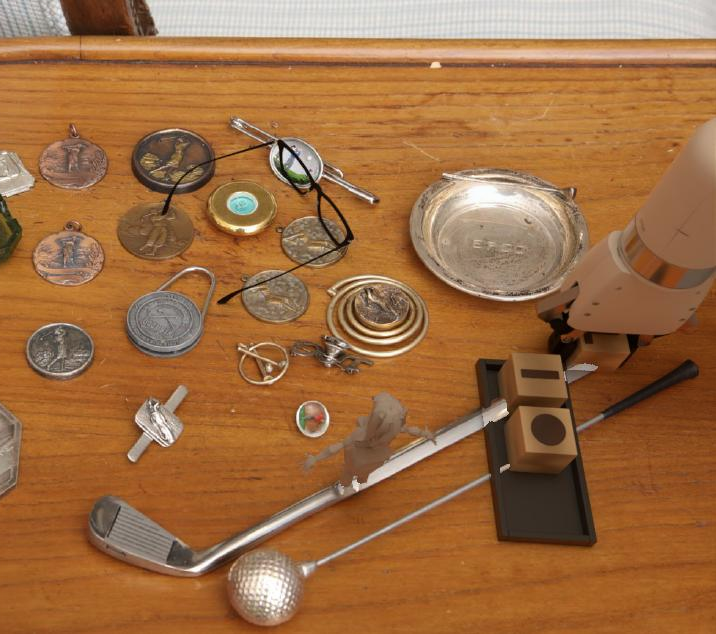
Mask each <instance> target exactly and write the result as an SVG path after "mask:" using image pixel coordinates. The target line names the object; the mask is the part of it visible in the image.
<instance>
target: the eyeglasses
mask: <svg viewBox="0 0 716 634" xmlns="http://www.w3.org/2000/svg"><path fill="white" fill-rule="evenodd" d="M271 145H277V147H278V160H279V167H280V170H281V172H282V174H285V175H284V176H285V177H286V179H287V181H288V182H289V183H290V184H291V186H292V187H293V188H294V189H295V190H296V191H297V192H298V193H299V194H300V195H301V196H304V195H305V196H307V197H308V196H309V194H310V193H311V192H312V191H313V190H315V191H316V199H314V200H313V204H312V205H313V207H314V208H316V210H317V217H318V220H319V222H320V224H321V225H322V227H323V229H324V231H325V232H326V234H327V235H328V237H330V240H332V241H333V243H334V244H335V245H336V247H334V248H332V249H331V250H328V251H326V252H324V253H322V254H319V255H318V256H316V257H314V258H312V259H309V260H307V261H306V262H303V263H301V264H299V265H297V266H295V267H292V268H291V269H288V270H287V271H284V272H282V273H280V274H278V275H276V276H273V277H271V278H270V277H269V278H268V279H266V280H263V281H260V282H256V283H254V284H252V285H249V286H246V287H243V288H239V289H237V290H235V291H233V292H230V293H228V294H227V295H225V296H223V297H222V298H220V299H218V300H217V301H216V304H221V305H223V304H226V303H228V302H229V301H230V300H231V299H234V297H236V296H237V295H239V294H241V293H242V292H245V291H247V290H249V289H252V288H255V287H258V286H260V285H264V284H265V283H267V282H270V281H272V280H276V279H278V278H280V277H282V276H285V275H287V274H288V273H292V272H293V271H294V270H297V269H300V268H302V267H304V266H306V265H308V264H310V263H312V262H314V261H317V260H319V259H321V258H323V257H325V256H327V255H329V254H331V253H333V252H336V251H338V250H341V249H342V248H344V247H347V246H349V245H350V244H352V243H353V242H355V235H354V233H353V231H352V229H351V228H350V226H349V224H348V223H349V222H347V220H346V217H344V215H343V213H342V212H341V210H340V209H339V208H338V206H337V204H335V202H334V201H333V200H332V199H331V198H330V197H329V195H327V194H326V193H325V192H324V191H323V189H322V187H321V185H320V184H319V183H317V182H316V181H315V179H314V178H313V175H312V174H311V172H310V170H309V169H308V167H307V166H306V164H305V163H304V161H303V160H302V159H301V157H300V156H299V155H298V154H297V153H296V151H295V150H293V148H292V147H291V146H290V145H288V144H287V143H286V141H284V140H283V139H282V138H280V139H279V138H278V139H274V140H271V141H268V142H264V143H261V144H258V145H254V146H251V147H248V148H245V149H242V150H241V149H240V150H238V151H235V152H231V153H228V154H225V155H222V156H219V157H216V158H213V159H209V160H207V161H204V162H201V163H200V164H197V165H195V166H194V167H192V168H191V169H189V170H188V171H186V172H185V173H183V175H181V177H179V179H178V180H177V181H176V182H175V184H174V186H173V187H171V188H172V189H171V190H170V192H169V193H168V195H167V198H166V200H165V202H164V205H163V208H162V210H161V215H162V216H163V215H165V214H166V213H168V210H169V207H170V205H171V201H172V199H173V196H174V194H175V191H176V188H177V187H178V186H179V184H180V183H181V182H182V180H183V179H184V178H185V177H186V176H188V174H190V173H191V172H193V171H194V170H196V169H197V168H199V167H202V166H205V165H206V164H209V163H212V162H216V161H218V160H222V159H225V158H227V157H232V156H235V155H238V154H239V155H240V154H242V153H245V152H249V151H253V150H255V149H260V148H263V147H267V146H271ZM284 150H287V151H288V152H289V153H290V154H291V155H292V157H294V159H295V160H296V161H297V162H298V164H299V165H300V166H301V167H302V169H303V170H304V172H305V174H306V176H307V178H308V180H309V182H310V185H309V188H307V190H306V191H302V190H301V189H300V188H299V187H298V185H296V184H295V182H294V181H293V180H292V178H291V177H290V176H289V174H288V173H287V171H286V169H285V166H284V159H283V157H284V156H283V155H284ZM284 169H285V170H284ZM287 176H289V177H290V178H291V179H290V178H289V177H287ZM322 198H323V199H324V200H325V201H326V202H327V203H329V205H330V206H331V208H333V210H334V211H335V213H336V214H337V216H338V217H339V219H340V221H341V222H342V224H343V226H344V228H345V231H346V236H345V238H344V239H343V241H341V242H339V241H338V240H337V239H336V238H335V236H334V235H333V234H332V233H331V231H330V229H329V228H328V227H327V225H326V223H325V221H324V218H323V217H322V210H321V203H322Z"/></svg>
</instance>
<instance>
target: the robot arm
mask: <svg viewBox="0 0 716 634" xmlns="http://www.w3.org/2000/svg"><path fill="white" fill-rule="evenodd" d="M715 279H716V116H714V117H712V118H710V119H708V120H707V121H705V122H704V123H702V124H701V125H700V126H698V127H697V128H696V129H695V131H694V132H693V133H692V134H691V136H690V137H689V138H688V139H687V140H686V142H685V143H684V145H683V146H682V147H681V149H680V150H679V152H678V153H677V154H676V156H675V157H674V159H673V160H672V162H671V163H670V164H669V166H668V168H667V169H666V170H665V171H664V173H663V174H662V176H661V177H660V178H659V179H658V181H657V183H656V184H655V185H654V187H653V189H652V190H651V191H650V192H649V193H648V195H647V197H646V198H645V199H644V201H643V202H642V204H641V205H640V206H639V207H638V209H637V210H636V212H635V213H634V215H633V216H632V217H631V219H630V220H629V221H628V223H627V225H625V227H624V228H623V229H618V230H613V231H610V233H609V234H607V235H605V236H604V237H603V238H602V239H601V240H599V241H598V242H597V243H596V244H595V245H593V246H592V248H590V250H588V251H587V252H586V254H585V255H583V256H582V258H581V259H580V260H579V261H578V262H577V264H576V265H574V267H573V268H572V269H571V271H570V272H569V274H567V276H566V277H565V278H564V280H563V282H562V283H561V285H560V288H559V289H560V292H559V293H557V294H554V295H552V296H550V297H547V298H545V299H543V300H540V301H538V302H535V304H534V308H535V313H536V317H537V318H538V319H539V320H541V321H542V322H544V323H546V324H549V326H550V329H552V330H553V331H552V333H550V335H549V337H548V339H547V348H548V351H549V353H553V355H560V357H561V362H562V363H564V364H565V361H566V359H567V358H568V357H569V355H570V354H571V353H572V352H573V350H574V349H575V348H576V346H577V341H576V339H577V338H579V337H580V336H582V335H583V334H584V333H586V332H587V331H592V332H607V333H624V334H626V336H627V340H628V344H629V349H630V354H629V355H628V357H627V358H626V359H625V360H624V361H623V362H622V363H621V364H620V365H619V367H618V368H623V366H624V365H625V364H626V363H627V362H628V360H629V359H630V358H631V357H632V356H633V355H634V354H635V353H636V352H637V351H638V349H639V348H647V347H649V346H651V344H652V343H653V340H655V339H658V338H662V337H665V336H670V335H671V334H673V333H674V332H676V331H680V330H685V329H689V328H692V327H696V326H697V325H699V319H698V316H697V312H696V310H698V308H699V307H700V305H701V304H702V303H703V301H704V300H705V298H706V296H707V295H708V293H709V292H710V289H711V288H712V286H713V284H714V281H715Z"/></svg>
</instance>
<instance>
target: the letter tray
mask: <svg viewBox="0 0 716 634" xmlns="http://www.w3.org/2000/svg"><path fill="white" fill-rule="evenodd" d="M506 360H507V359H500V358H498V359H497V358H482V357H481V358H480V357H479V358H478V360H476V363H475V364H474V366H475V374H476V383H477V390H478V399H479V405H480V407H481V406H482V407H484V408H485V409H486V408H488V407H490V406H491V401H492V400H494V399H496V398H499V397H500V393H499V386H498V379H497V374H498V372H499V371H500V369H501V368H502V366H503V365H504V363H505V362H506ZM562 367H563V372H564V371H566V365H565V362H564V363H562ZM565 384H566V389H567V395H568V399H567V400H566V401H565V402H564V403H563V405H562V406H561V407H560V408H563V409H569V411H570V416H571V422H572V427H573V432H574V438H575V443H576V449H577V454H578V455H577V456H576V457H575V458H574V459H573V460H572V461H571V462H570V463H569V464H568V465H567V466H566V467H565V468H564V469H563V470H562V471H561V472H560V473H559V474H549V473H532V472H516V471H509V469H507V470H505V471H503V472H502V473H500V467H502V466H504V465H506V464H508V457H507V450H506V443H505V435H504V428H503V426H504V425H505V424H506V422H507V421H508V420H509V419H510V417H508V416H506V417H504V418H502V419H500V420H498V421H497V422H493V421H491V422H490V421H489V423H488V424H487V425H486V426H485V427H484V428H483V427H482V429H483V437H484V444H485V451H486V459H487V468H488V469H487V470H488V474H489V473H490V474H491V478H490V477H489V481H490V482H489V483H490V492H491V499H492V506H493V515H494V522H495V531H496V537H497V541H498V542H511V543H512V542H513V543H526V544H541V545H543V544H544V545H558V546H559V545H560V546H575V547H587V548H588V547H589V548H591V547H593V546H595V545H596V544H597V543H598V537H597V532H596V527H595V521H594V517H593V512H592V505H591V500H590V495H589V490H588V484H587V478H586V472H585V468H584V462H583V458H582V452H581V447H580V446H581V445H580V440H579V434H578V430H577V425H576V419H575V413H574V409H573V404H572V398H571V392H570V388H569V382H568V380H567V381H565Z"/></svg>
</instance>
